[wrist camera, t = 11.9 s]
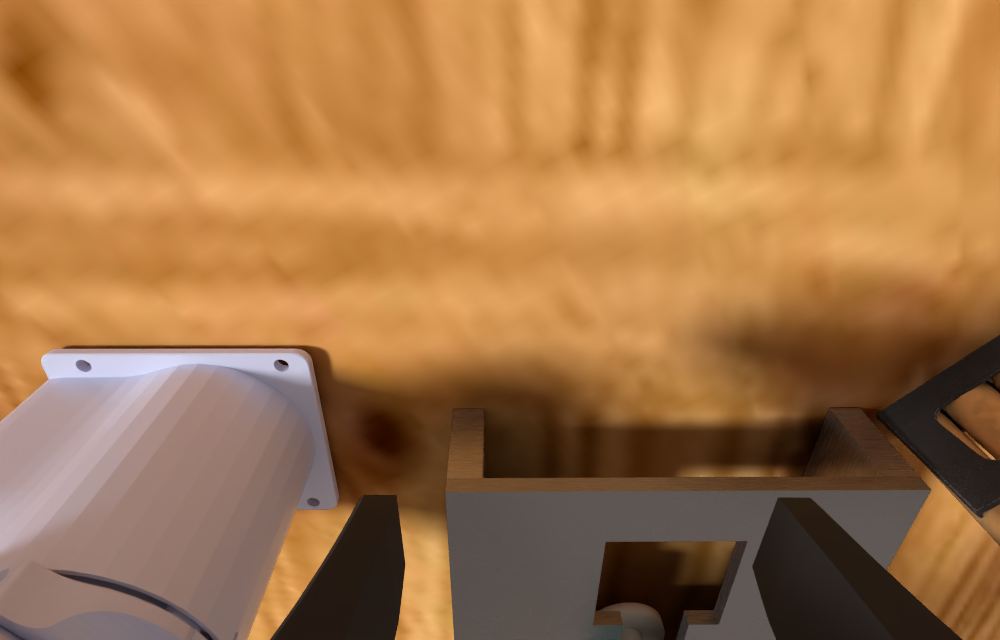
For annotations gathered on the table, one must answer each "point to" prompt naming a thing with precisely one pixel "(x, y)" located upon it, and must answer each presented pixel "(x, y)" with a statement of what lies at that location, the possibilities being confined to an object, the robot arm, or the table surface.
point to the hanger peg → (638, 621)
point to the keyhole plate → (648, 531)
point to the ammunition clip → (958, 431)
